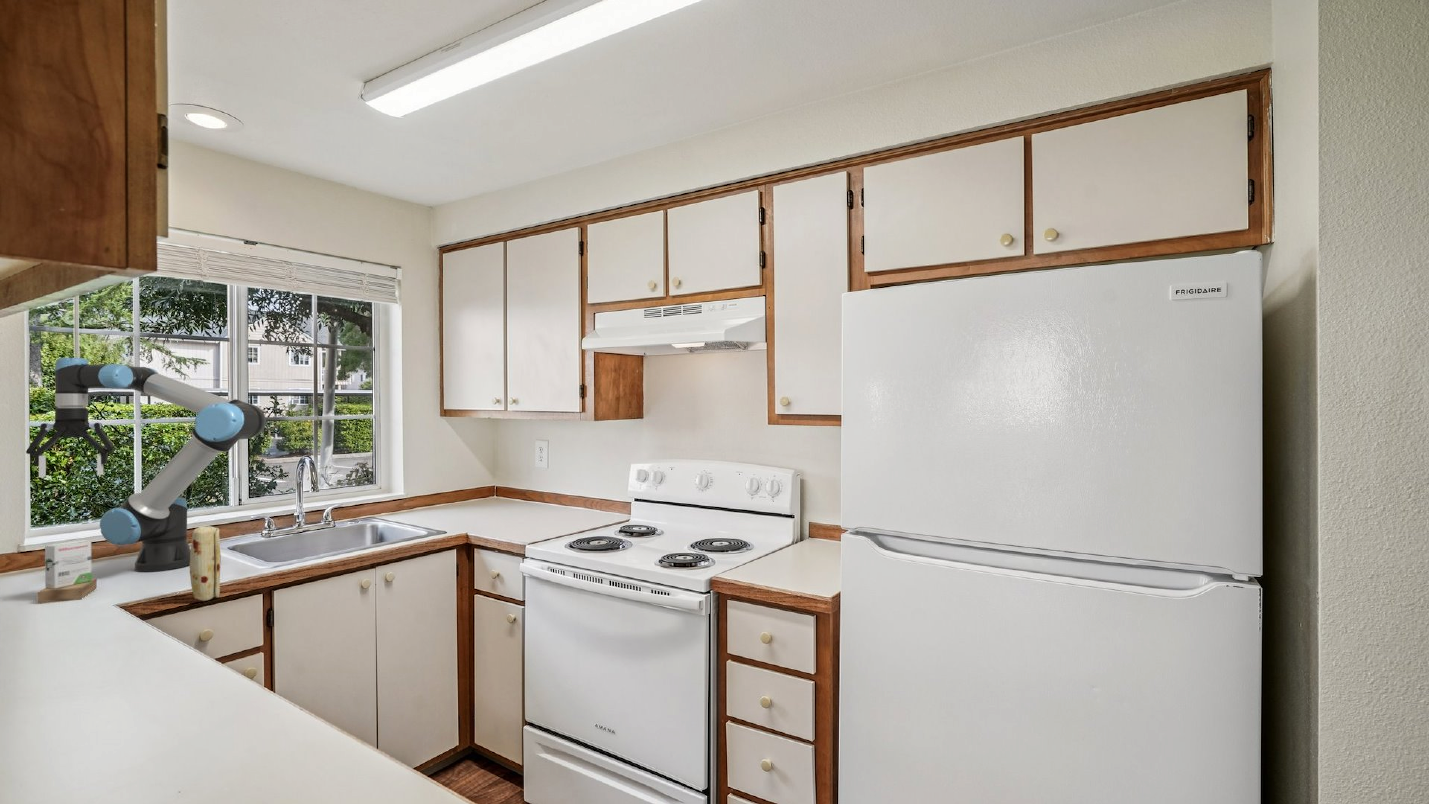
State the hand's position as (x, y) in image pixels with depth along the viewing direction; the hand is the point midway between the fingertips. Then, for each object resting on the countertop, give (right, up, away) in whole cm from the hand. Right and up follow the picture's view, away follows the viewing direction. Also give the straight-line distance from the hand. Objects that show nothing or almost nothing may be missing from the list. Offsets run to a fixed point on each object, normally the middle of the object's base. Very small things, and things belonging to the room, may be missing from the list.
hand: (71, 475), depth 211 cm
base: (+19, -31, -21) cm, 42 cm away
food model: (+60, -31, -25) cm, 73 cm away
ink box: (+19, -28, -21) cm, 40 cm away
